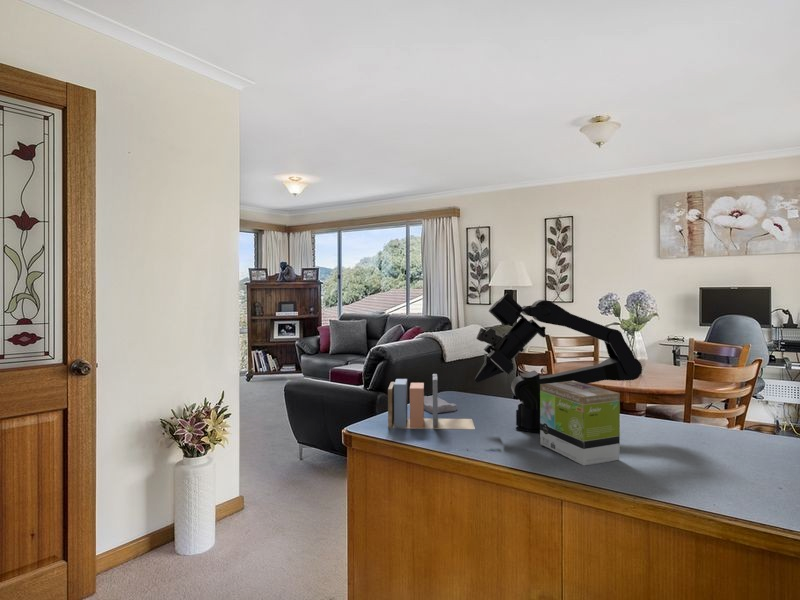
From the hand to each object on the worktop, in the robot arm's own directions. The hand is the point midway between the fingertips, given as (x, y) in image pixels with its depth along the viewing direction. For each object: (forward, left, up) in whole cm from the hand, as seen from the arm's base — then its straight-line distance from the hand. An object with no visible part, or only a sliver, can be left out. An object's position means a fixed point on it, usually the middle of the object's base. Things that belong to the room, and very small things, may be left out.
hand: (475, 381), depth 132 cm
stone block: (+17, -11, -13) cm, 24 cm away
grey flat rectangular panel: (+9, +5, -11) cm, 15 cm away
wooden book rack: (+10, +6, -12) cm, 17 cm away
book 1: (+17, +10, -11) cm, 23 cm away
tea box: (-27, +6, -13) cm, 31 cm away
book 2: (+13, +8, -11) cm, 19 cm away
